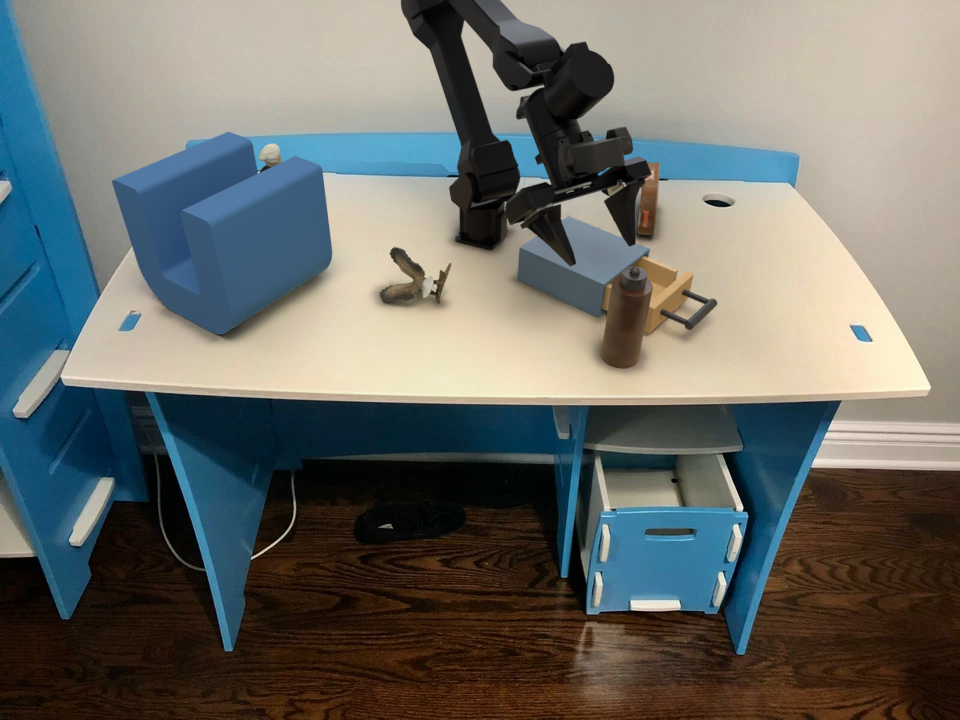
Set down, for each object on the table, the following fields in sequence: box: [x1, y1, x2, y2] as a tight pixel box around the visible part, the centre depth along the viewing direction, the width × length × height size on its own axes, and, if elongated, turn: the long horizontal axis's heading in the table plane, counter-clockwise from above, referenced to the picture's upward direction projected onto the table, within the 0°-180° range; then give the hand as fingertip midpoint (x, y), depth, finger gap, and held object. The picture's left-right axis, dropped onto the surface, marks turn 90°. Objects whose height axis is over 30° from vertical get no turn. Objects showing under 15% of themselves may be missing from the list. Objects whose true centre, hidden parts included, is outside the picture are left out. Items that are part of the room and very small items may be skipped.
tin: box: [636, 161, 661, 237], centre depth 121 cm, size 15×3×8 cm, turn 168°
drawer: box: [602, 256, 718, 334], centre depth 103 cm, size 18×11×4 cm, turn 50°
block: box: [111, 131, 333, 335], centre depth 100 cm, size 18×18×18 cm
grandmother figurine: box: [258, 143, 282, 173], centre depth 118 cm, size 8×4×13 cm, turn 58°
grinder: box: [600, 266, 653, 369], centre depth 92 cm, size 5×5×13 cm
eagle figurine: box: [379, 246, 452, 304], centre depth 104 cm, size 8×7×9 cm
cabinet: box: [517, 215, 651, 319], centre depth 108 cm, size 14×12×6 cm
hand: (603, 255), depth 93 cm, fingers open, 9 cm apart
